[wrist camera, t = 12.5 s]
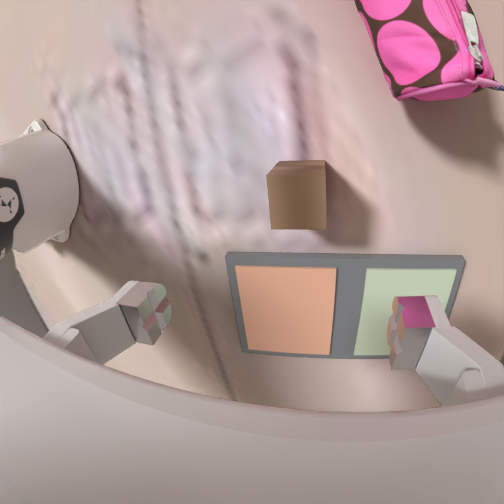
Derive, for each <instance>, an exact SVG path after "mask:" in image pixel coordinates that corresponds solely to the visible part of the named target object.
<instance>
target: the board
mask: <svg viewBox="0 0 504 504" xmlns="http://www.w3.org/2000/svg"><path fill="white" fill-rule="evenodd" d="M225 258H226V264H227V270H228V276H229V281H230V287H231V293H232V298H233V304H234V309H235V315H236V320H237V326H238V331H239V336H240V342H241V347H242V352H247V353H257V354H267V355H279V356H292V357H309V358H335V359H389V358H390V357H389V354H390V350H391V347H390V346H389V345H388V342H387V327H388V321H389V317H390V316H391V315H392V314H393V310H392V303H393V300H394V297H395V296H423V295H437V296H438V298H439V300H440V302H441V304H442V306H443V309H444V311H445V313H446V316H447V318H448V316H449V313H450V311H451V308H452V305H453V302H454V299H455V295H456V292H457V289H458V286H459V282H460V279H461V275H462V272H463V268H464V264H465V259H464V258H463V256H462V255H398V254H335V253H272V252H228V253H227V254H226V256H225Z"/></svg>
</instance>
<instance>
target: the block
mask: <svg viewBox="0 0 504 504" xmlns="http://www.w3.org/2000/svg"><path fill="white" fill-rule="evenodd" d="M266 176H267V186H268V197H269V209H270V220H271V229H315V230H327V214H326V172H325V160H307V161H279V162H278V163H277V164H276V165H275V167H274V168H273V169H272V170H271V171H270V172H269V173H268V174H267V175H266Z"/></svg>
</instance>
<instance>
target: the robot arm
mask: <svg viewBox="0 0 504 504" xmlns="http://www.w3.org/2000/svg"><path fill="white" fill-rule="evenodd" d="M78 202H79V184H78V177H77V172H76V168H75V164H74V161H73V158H72V156H71V154H70V152H69V150H68V148H67V146H66V145H65V143H64V142H63V141H62V140H61V139H60V138H59V137H58V136H57V135H56V134H54V133H52V132H50V131H49V130H48V129H47V127H46V125H45V123H44V122H43V121H42V120H41V119H37V120H35V121H33V122H32V123H31V124H30V125H29V127H28V128H27V129H26V130H25V131H24V132H23V134H22V135H21V136H19V137H16V138H13V139H11V140H8V141H5V142H3V143H0V259H1V258H2V257H3V256H4V255H6V254H7V253H8V252H10V251H11V249H14V250H17V251H18V252H23V253H27V252H29V251H31V250H32V249H34V248H36V247H38V246H39V245H41V244H43V243H44V242H46V241H48V240H49V239H51V240H54V241H58V242H61V243H63V242H65V241H67V240H68V239H69V233H70V224H71V222H72V220H73V219H74V217H75V214H76V212H77V208H78ZM166 295H167V292H166V289H165V287H164V286H163V285H162V284H158V283H150V282H142V281H141V282H140V281H133V280H132V281H128V282H127V283H126V284H125V285H124V286H123V287H122V288H121V289H120V290H119V291H118V292H117V293H115V294H114V295H113V296H112V297H111V298H110V299H109V300H108V301H107V302H102V303H100V304H98V305H96V306H93V307H91V308H89V309H86V310H84V311H82V312H80V313H77V314H75V315H73V316H70V317H68V318H66V319H64V320H61V321H59V322H58V323H57V324H56V325H55V326H54V327H53V328H52V329H51V330H50V331H49V332H48V333H47V334H46V335H45V336H44V337H43V338H40V337H38V336H36V335H34V334H32V333H30V332H29V331H27V330H25V329H23V328H21V327H19V326H18V325H16V324H14V323H12V322H10V321H9V320H7V319H6V318H4V317H2V316H0V504H504V367H503V365H502V363H500V362H499V361H498V360H497V359H495V358H494V357H493V356H492V355H491V354H489V353H488V352H487V351H486V350H484V349H483V348H482V347H481V346H479V345H478V344H477V343H475V342H474V341H473V340H472V339H470V338H469V337H468V336H466V335H465V334H464V333H463V332H461V331H460V330H459V329H457V328H456V327H451V325H450V323H449V320H448V318H447V316H446V313H445V311H444V309H443V306H442V304H441V302H440V300H439V298H438V296H437V295H423V296H395V297H394V300H393V303H392V310H393V314H392V315H391V316H390V317H389V321H388V327H387V342H388V345H389V346H390V347H391V350H390V354H389V357H390V364H391V370H415V371H416V373H417V374H418V375H419V376H420V378H421V379H422V380H423V382H424V383H425V384H426V385H427V387H428V388H429V389H430V390H431V392H432V393H433V394H434V396H435V397H436V398H437V400H438V401H439V402H440V403H441V405H442V407H438V408H429V409H419V410H407V411H389V412H331V411H313V410H300V409H289V408H280V407H271V406H264V405H257V404H250V403H244V402H238V401H232V400H227V399H221V398H216V397H212V396H207V395H202V394H198V393H194V392H189V391H185V390H181V389H177V388H174V387H170V386H166V385H163V384H159V383H156V382H152V381H149V380H146V379H142V378H139V377H136V376H133V375H130V374H127V373H124V372H121V371H118V370H115V369H113V368H110V367H107V366H104V365H103V364H105V363H106V362H108V361H109V360H111V359H112V358H114V357H115V356H117V355H118V354H120V353H121V352H123V351H124V350H126V349H127V348H129V347H130V346H132V345H133V344H135V343H136V342H139V343H144V344H148V345H154V344H155V342H156V341H157V340H158V338H159V337H160V335H161V329H163V328H165V327H166V326H167V325H168V324H169V322H170V320H171V316H172V308H171V305H170V302H169V301H168V300H167V299H166V298H165V297H166Z"/></svg>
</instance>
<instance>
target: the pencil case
mask: <svg viewBox="0 0 504 504" xmlns="http://www.w3.org/2000/svg"><path fill="white" fill-rule="evenodd" d="M354 1H355V4H356V7H357V9H358V12H359V14H360V15H361V17H362V18H363V20H364V22H365V25H366V27H367V30H368V33H369V35H370V38H371V41H372V44H373V47H374V50H375V52H376V54H377V57H378V59H379V62H380V65H381V67H382V70H383V73H384V76H385V79H386V81H387V82H388V83H389V86H390V90H391V92H392V95H393V97H394V98H396V99H397V100H398V101H399V100H403V99H411V100H419V101H438V100H447V99H456V98H463V97H466V96H468V95H469V94H470V93H474V92H477V91H480V90H482V89H484V88H485V87H488V88H490V89H493V90H501V91H504V86H502V85H501V84H500V83H498V82H497V81H495V79H494V72H493V69H492V66H491V64H490V62H489V59H488V57H487V54H486V50H485V47H484V43H483V40H482V37H481V34H480V31H479V27H478V24H477V21H476V18H475V15H474V13H473V11H472V9H471V7H470V5H469V3H468V1H467V0H354Z"/></svg>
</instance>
